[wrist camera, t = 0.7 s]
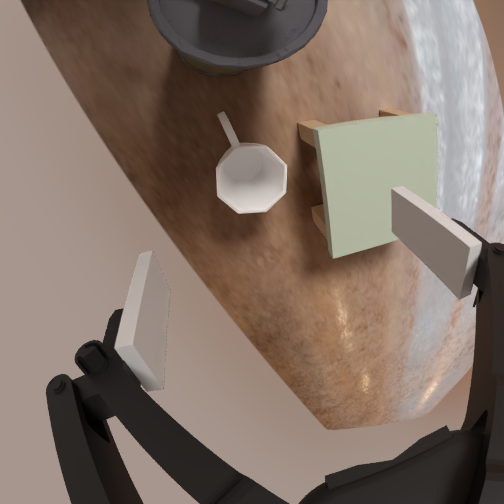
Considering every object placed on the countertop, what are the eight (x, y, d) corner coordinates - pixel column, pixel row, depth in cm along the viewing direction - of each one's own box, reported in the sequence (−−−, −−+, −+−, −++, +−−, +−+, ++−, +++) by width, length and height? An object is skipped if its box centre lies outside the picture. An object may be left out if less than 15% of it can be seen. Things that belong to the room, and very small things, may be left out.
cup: (226, 197, 38) (232, 227, 31) (189, 123, 32) (185, 134, 25) (280, 173, 37) (299, 197, 30) (247, 97, 32) (260, 101, 25)
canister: (285, 14, 27) (373, -43, 10) (245, 90, 31) (298, 100, 14) (194, -21, 24) (191, -117, 7) (154, 57, 28) (95, 28, 11)
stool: (292, 119, 34) (317, 130, 26) (395, 104, 34) (436, 115, 27) (309, 224, 41) (333, 258, 34) (400, 202, 41) (434, 228, 34)
